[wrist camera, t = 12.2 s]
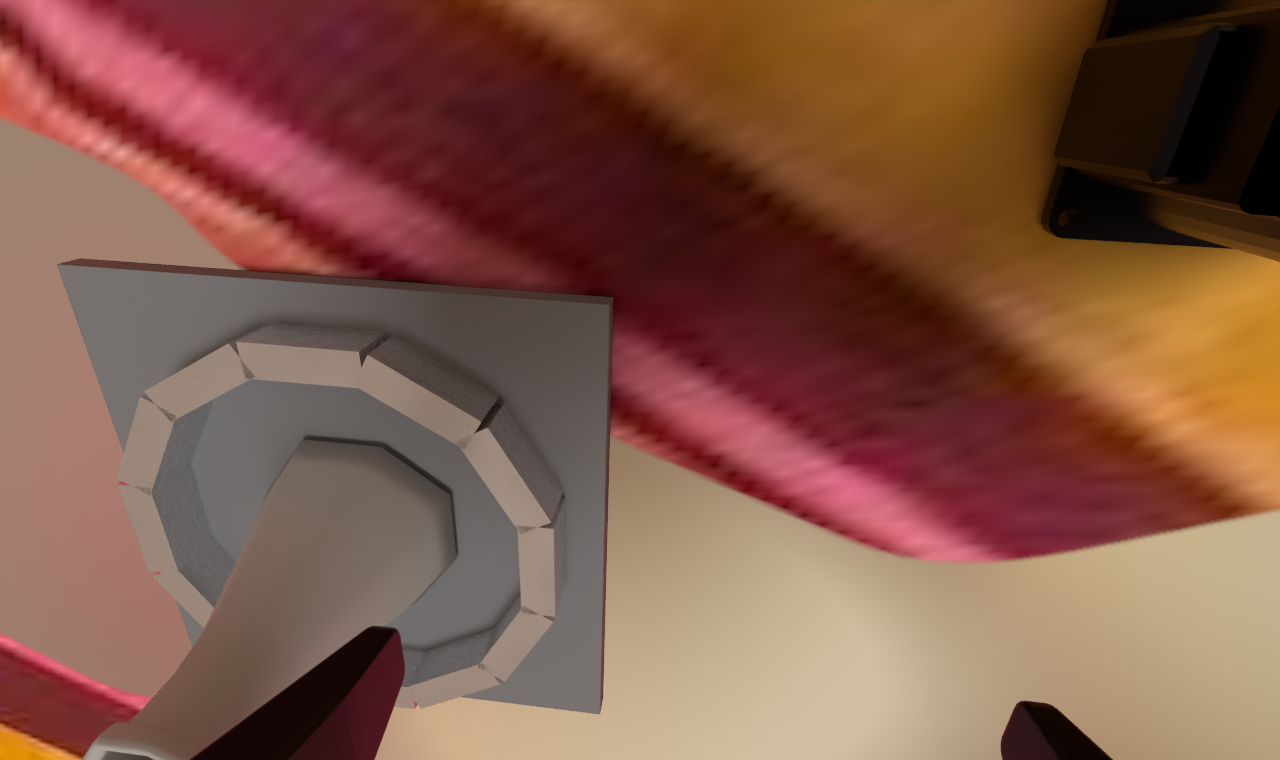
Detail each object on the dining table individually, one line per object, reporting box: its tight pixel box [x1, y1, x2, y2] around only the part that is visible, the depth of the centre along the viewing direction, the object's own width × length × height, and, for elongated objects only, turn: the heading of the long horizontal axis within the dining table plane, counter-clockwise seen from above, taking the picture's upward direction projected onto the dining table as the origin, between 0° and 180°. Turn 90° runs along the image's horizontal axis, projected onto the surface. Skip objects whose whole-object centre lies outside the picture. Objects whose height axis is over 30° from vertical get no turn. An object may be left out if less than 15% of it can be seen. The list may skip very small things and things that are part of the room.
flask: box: [82, 439, 456, 760], centre depth 19 cm, size 7×7×10 cm
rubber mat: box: [57, 259, 613, 714], centre depth 23 cm, size 18×18×1 cm
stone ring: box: [117, 322, 566, 709], centre depth 22 cm, size 15×15×2 cm
